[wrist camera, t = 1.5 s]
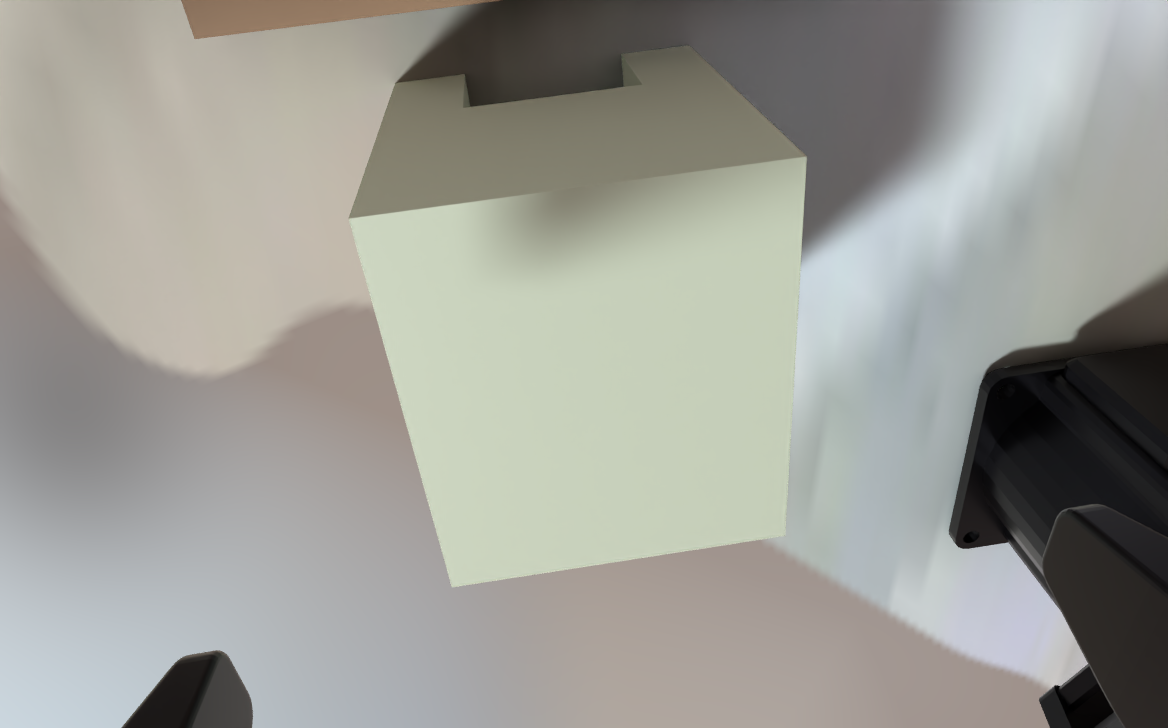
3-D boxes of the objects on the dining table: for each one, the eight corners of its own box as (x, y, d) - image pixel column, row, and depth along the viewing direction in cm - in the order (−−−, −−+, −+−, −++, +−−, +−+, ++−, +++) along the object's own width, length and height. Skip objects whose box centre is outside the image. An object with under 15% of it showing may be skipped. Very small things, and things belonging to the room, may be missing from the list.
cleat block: (696, 335, 20) (784, 535, 14) (459, 370, 20) (451, 587, 14) (689, 44, 16) (806, 156, 10) (395, 83, 16) (349, 218, 10)
